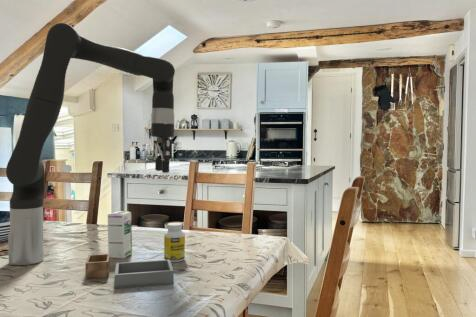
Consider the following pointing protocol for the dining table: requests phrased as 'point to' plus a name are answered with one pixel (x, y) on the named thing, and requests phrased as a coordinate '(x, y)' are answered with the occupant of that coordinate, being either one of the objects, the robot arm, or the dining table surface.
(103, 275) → the crate small
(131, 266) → the crate big
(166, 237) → the pill bottle
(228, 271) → the dining table surface
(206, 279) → the dining table surface
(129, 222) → the syrup box
